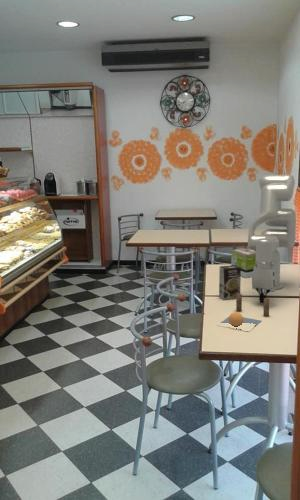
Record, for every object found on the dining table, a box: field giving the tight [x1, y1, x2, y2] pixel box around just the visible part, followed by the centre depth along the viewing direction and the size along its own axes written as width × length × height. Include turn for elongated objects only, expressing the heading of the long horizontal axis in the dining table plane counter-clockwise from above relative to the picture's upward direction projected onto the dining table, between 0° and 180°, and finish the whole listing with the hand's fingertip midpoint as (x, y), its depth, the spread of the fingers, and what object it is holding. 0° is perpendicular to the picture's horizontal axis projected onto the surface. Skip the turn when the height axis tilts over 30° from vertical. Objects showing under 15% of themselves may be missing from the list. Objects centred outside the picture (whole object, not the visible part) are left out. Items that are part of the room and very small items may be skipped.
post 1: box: [235, 293, 243, 313], centre depth 194 cm, size 2×2×8 cm
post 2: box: [262, 297, 270, 318], centre depth 187 cm, size 2×2×8 cm
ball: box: [228, 311, 244, 327], centre depth 177 cm, size 6×6×6 cm
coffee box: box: [218, 265, 242, 301], centre depth 213 cm, size 9×6×16 cm
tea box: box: [230, 248, 256, 279], centre depth 255 cm, size 15×10×15 cm
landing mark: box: [220, 316, 262, 330], centre depth 180 cm, size 14×14×1 cm
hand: (262, 302), depth 201 cm, fingers closed
